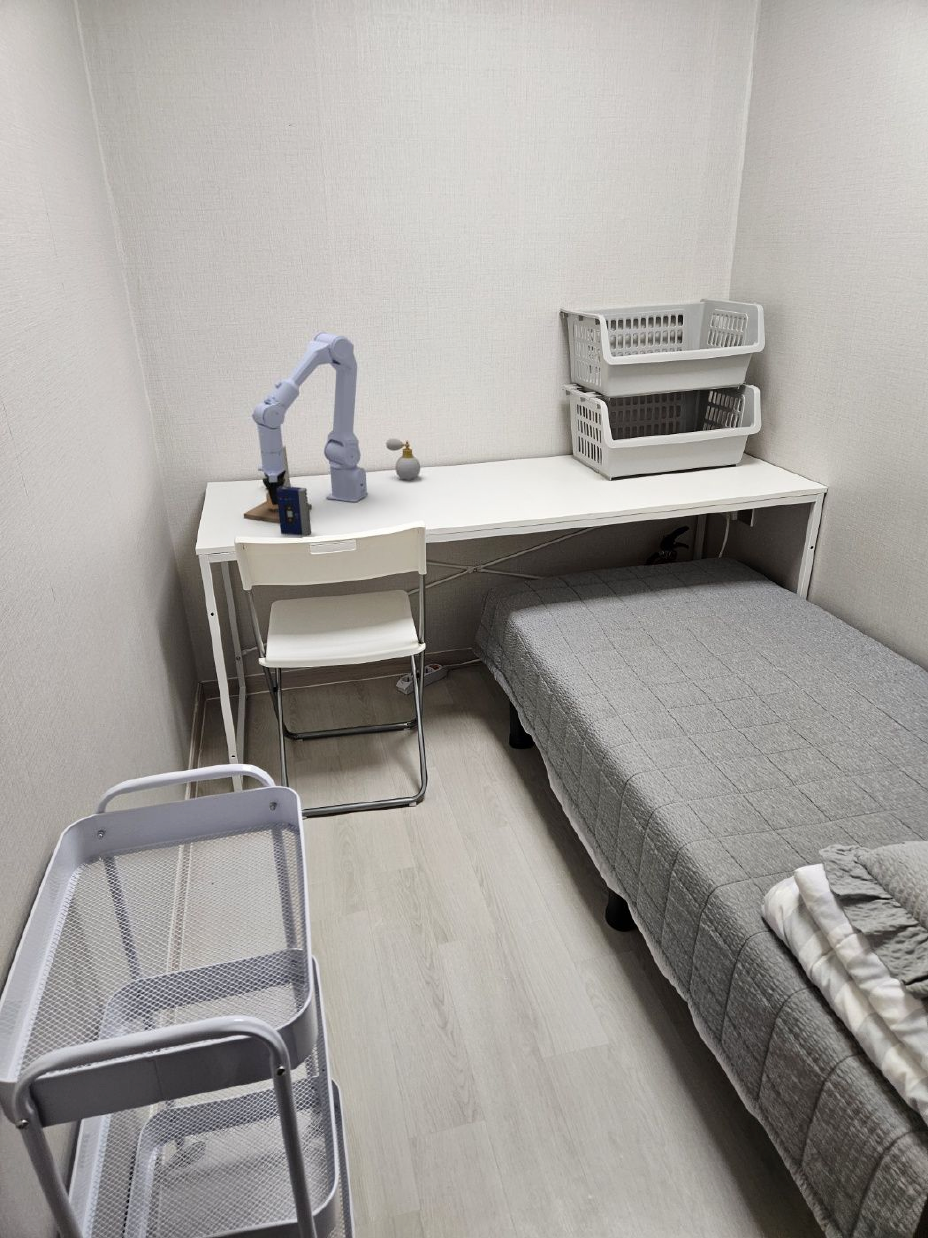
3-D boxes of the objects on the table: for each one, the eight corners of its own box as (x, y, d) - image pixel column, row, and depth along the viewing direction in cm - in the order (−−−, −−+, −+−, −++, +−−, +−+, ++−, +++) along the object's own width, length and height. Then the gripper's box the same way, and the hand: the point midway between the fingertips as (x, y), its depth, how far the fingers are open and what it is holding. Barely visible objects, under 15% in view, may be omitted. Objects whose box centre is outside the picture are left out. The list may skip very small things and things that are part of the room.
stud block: (312, 508, 226) (310, 490, 223) (286, 524, 215) (284, 505, 212) (270, 503, 230) (268, 484, 227) (244, 518, 219) (241, 499, 216)
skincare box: (290, 485, 243) (286, 445, 238) (286, 490, 240) (282, 449, 234) (269, 485, 244) (265, 444, 238) (265, 489, 240) (260, 448, 235)
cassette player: (280, 533, 209) (275, 487, 203) (284, 530, 211) (279, 484, 205) (308, 535, 208) (304, 489, 202) (311, 532, 210) (307, 486, 204)
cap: (287, 508, 219) (285, 495, 218) (267, 509, 218) (265, 496, 217) (287, 501, 224) (286, 489, 222) (268, 502, 223) (266, 490, 221)
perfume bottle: (422, 481, 247) (421, 441, 242) (390, 483, 245) (388, 443, 240) (418, 474, 254) (417, 435, 248) (386, 476, 252) (385, 437, 246)
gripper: (257, 443, 220) (263, 492, 226) (254, 458, 207) (260, 510, 214) (284, 442, 221) (289, 491, 227) (283, 457, 208) (288, 508, 215)
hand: (277, 500), depth 220 cm, fingers open, 6 cm apart
